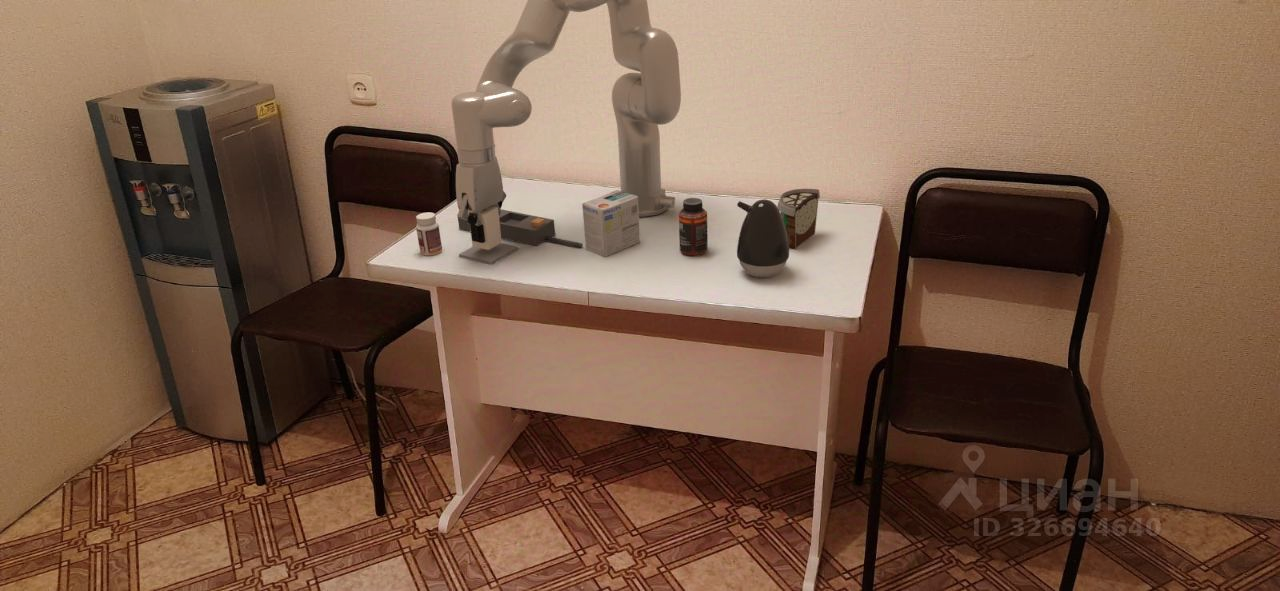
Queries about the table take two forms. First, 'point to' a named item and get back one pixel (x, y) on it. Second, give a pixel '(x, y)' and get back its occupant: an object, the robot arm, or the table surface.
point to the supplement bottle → (693, 228)
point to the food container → (799, 214)
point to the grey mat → (489, 253)
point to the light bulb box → (611, 222)
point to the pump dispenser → (762, 239)
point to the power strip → (525, 229)
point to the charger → (489, 228)
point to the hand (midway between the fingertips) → (486, 236)
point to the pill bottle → (428, 234)
